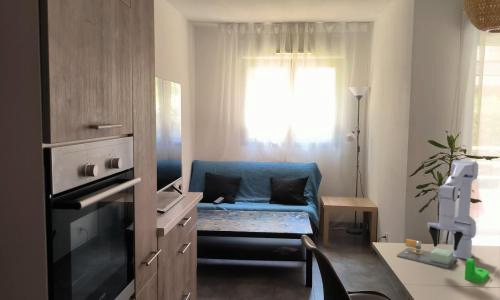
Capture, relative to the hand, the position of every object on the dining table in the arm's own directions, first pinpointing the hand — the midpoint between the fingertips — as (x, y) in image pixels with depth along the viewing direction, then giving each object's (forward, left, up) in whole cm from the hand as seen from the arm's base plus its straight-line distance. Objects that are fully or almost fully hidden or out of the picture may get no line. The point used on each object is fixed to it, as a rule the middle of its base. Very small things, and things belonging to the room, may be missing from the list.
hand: (445, 247), depth 177 cm
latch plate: (-13, -11, -10) cm, 20 cm away
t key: (-16, -15, -8) cm, 24 cm away
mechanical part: (-3, +12, -10) cm, 16 cm away
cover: (-12, -4, -9) cm, 15 cm away
